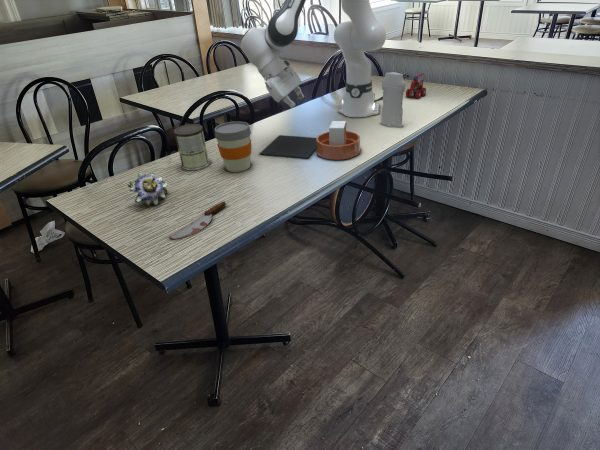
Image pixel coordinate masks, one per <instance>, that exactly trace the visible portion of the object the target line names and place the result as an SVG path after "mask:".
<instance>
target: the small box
mask: <svg viewBox="0 0 600 450" xmlns="http://www.w3.org/2000/svg"><path fill="white" fill-rule="evenodd" d="M346 131H347V121H346V120H331V123H330V125H329V127H328V132H329V145H331V146H342V145H346Z"/></svg>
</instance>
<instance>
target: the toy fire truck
mask: <svg viewBox="0 0 600 450" xmlns="http://www.w3.org/2000/svg"><path fill="white" fill-rule="evenodd" d="M424 79H425V74H424V73H420V74H418V75H415V76H413V80H412V81H411V82H410V87H409V88H406V90H405V97H406V98H410V97H411V98H412V97H415V99H420V98H421V97H424V96H425V95H426V93H427V88H426V87H424Z"/></svg>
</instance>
